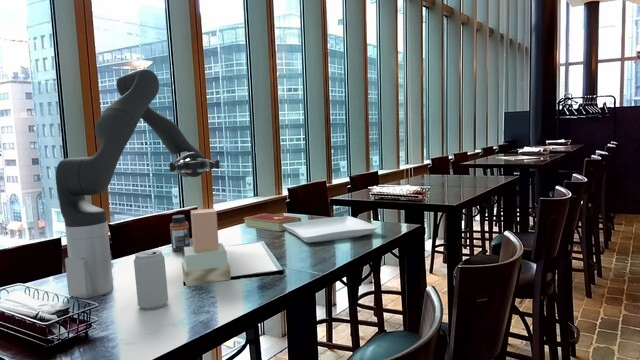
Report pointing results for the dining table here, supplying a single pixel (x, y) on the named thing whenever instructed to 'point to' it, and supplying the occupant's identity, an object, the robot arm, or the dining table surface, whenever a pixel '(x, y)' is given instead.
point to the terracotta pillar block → (204, 230)
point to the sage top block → (205, 258)
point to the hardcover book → (270, 221)
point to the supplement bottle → (179, 233)
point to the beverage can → (150, 279)
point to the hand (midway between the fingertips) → (196, 166)
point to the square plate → (330, 228)
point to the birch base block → (205, 275)
